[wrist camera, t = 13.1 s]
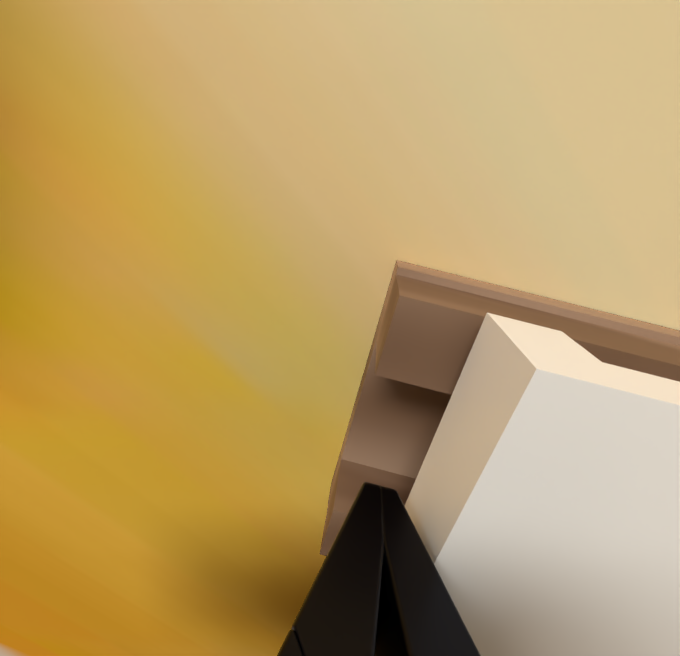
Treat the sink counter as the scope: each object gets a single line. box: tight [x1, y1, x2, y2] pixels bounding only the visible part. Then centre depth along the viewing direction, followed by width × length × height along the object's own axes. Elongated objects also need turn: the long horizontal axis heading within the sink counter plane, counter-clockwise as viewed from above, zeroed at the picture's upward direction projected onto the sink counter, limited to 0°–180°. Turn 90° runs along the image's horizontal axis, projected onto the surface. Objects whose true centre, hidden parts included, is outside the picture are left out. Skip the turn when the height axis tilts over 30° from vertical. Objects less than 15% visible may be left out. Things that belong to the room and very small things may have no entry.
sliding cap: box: [405, 313, 680, 656], centre depth 8 cm, size 9×6×4 cm, turn 167°
